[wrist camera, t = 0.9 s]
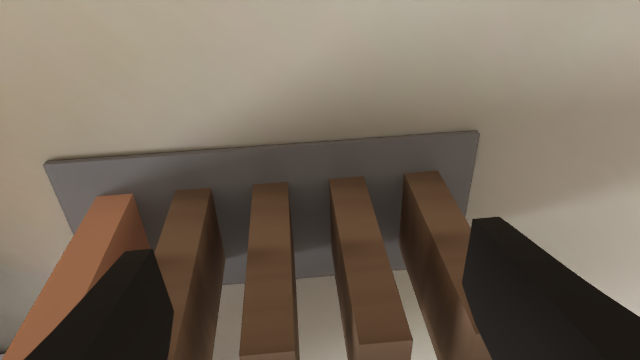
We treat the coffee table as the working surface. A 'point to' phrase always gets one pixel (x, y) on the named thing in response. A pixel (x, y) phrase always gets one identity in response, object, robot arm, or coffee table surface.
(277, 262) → the walnut tile
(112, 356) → the robot arm
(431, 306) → the walnut tile
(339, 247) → the walnut tile
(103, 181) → the grey flat rectangular plate
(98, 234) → the terracotta tile
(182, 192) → the walnut tile
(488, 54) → the coffee table surface
